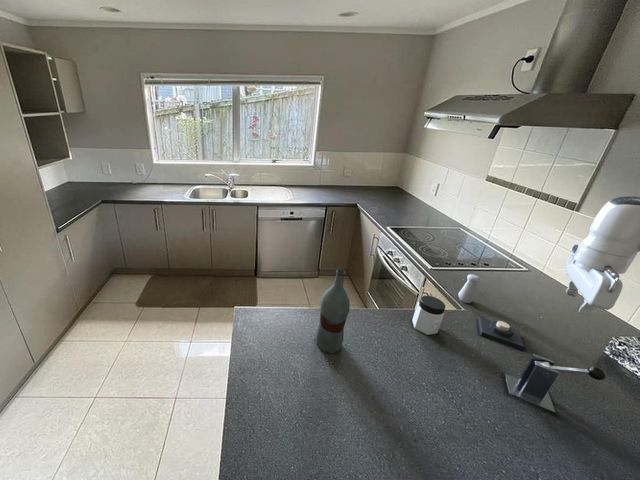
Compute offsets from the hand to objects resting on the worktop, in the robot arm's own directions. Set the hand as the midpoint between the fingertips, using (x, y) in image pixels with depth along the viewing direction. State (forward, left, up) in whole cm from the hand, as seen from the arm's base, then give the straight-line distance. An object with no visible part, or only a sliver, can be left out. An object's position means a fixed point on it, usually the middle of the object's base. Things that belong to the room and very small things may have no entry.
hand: (576, 303), depth 76 cm
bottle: (+58, +23, -30) cm, 69 cm away
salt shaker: (+16, -37, -30) cm, 50 cm away
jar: (+30, -7, -30) cm, 43 cm away
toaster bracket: (+2, +7, -30) cm, 31 cm away
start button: (+6, -19, -26) cm, 33 cm away
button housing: (+6, -19, -30) cm, 36 cm away
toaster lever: (-3, +7, -18) cm, 20 cm away
